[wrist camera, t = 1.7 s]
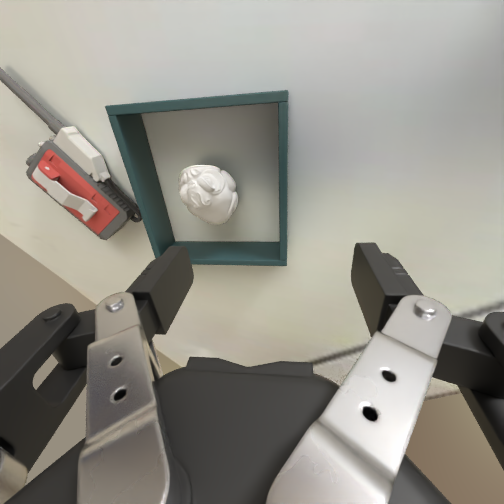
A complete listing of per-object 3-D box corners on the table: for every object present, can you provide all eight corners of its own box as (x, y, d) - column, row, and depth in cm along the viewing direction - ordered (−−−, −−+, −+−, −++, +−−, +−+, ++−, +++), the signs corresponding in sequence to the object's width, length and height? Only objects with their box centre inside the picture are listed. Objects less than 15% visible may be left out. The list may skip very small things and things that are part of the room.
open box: (131, 104, 26) (104, 106, 22) (288, 91, 24) (287, 90, 20) (171, 246, 35) (157, 263, 32) (287, 246, 33) (286, 266, 29)
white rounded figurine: (226, 144, 27) (208, 157, 21) (252, 200, 30) (244, 225, 24) (182, 166, 29) (154, 184, 23) (211, 217, 32) (193, 244, 26)
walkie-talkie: (157, 205, 32) (9, 58, 25) (140, 219, 28) (-40, 52, 22) (122, 239, 36) (-16, 120, 29) (102, 255, 32) (-61, 123, 25)
